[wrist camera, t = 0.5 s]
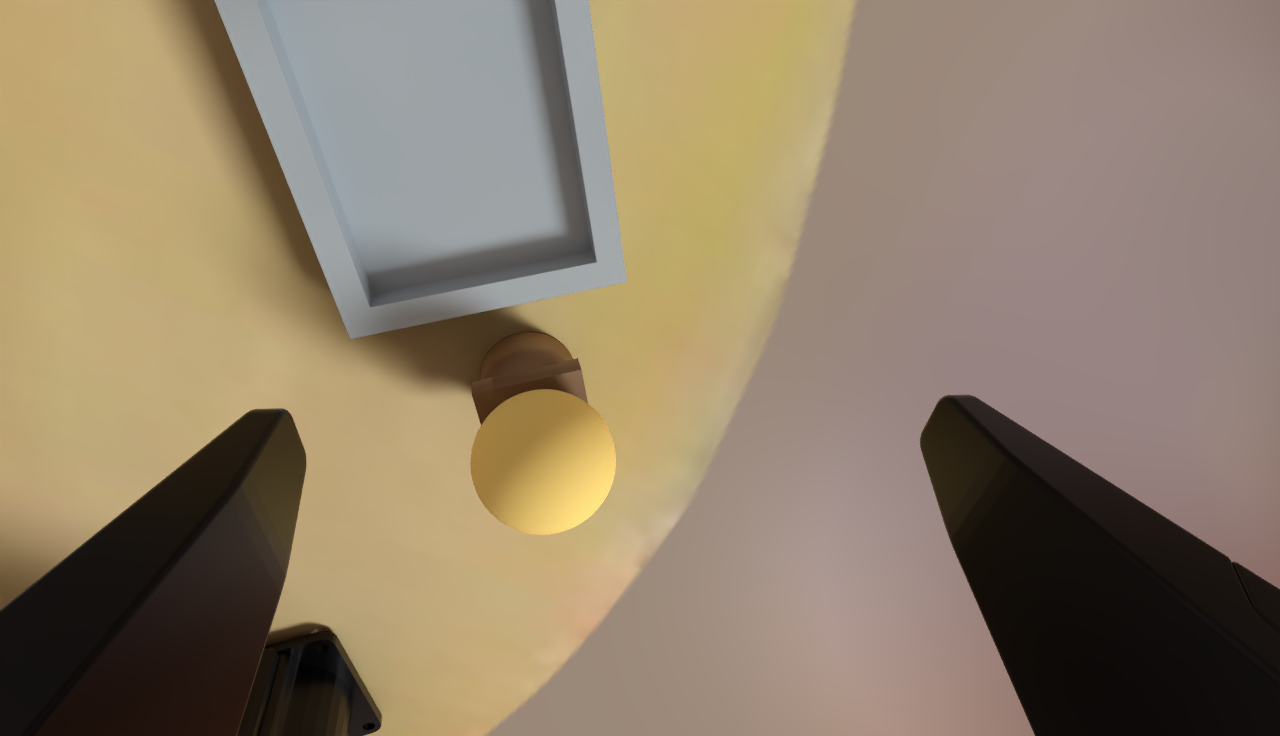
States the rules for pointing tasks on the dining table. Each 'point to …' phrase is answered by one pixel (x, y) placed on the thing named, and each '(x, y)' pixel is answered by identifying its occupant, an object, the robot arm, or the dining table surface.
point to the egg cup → (525, 371)
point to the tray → (437, 149)
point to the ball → (543, 461)
